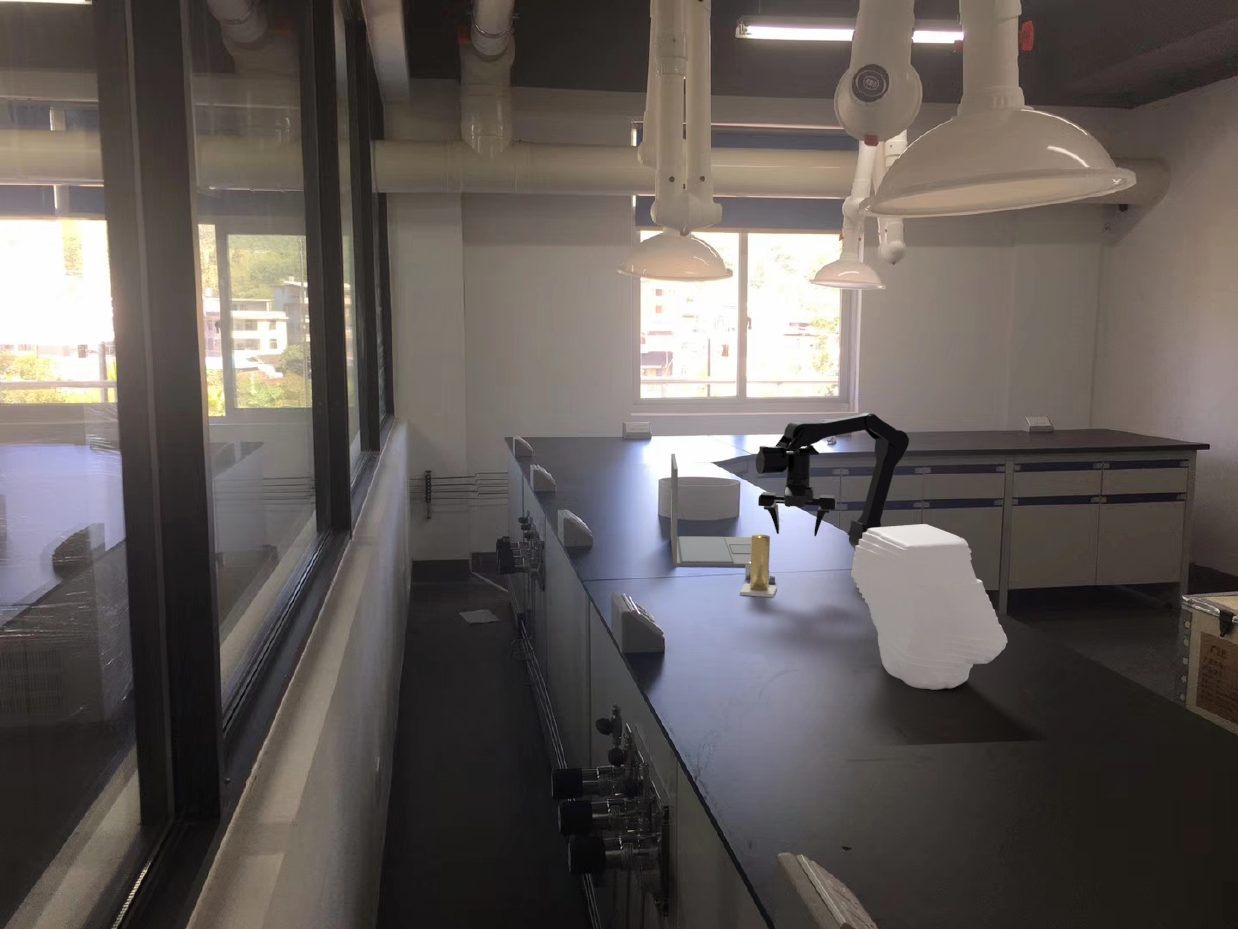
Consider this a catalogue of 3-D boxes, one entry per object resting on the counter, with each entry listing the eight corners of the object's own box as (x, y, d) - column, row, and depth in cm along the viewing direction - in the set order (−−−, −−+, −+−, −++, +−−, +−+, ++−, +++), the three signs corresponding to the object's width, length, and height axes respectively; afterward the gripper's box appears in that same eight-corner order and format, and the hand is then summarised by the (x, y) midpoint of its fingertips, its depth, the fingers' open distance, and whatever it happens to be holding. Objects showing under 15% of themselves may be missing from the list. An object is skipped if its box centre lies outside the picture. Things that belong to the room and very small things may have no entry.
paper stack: (941, 650, 184) (947, 522, 180) (1008, 702, 157) (1017, 554, 154) (837, 653, 182) (841, 524, 179) (887, 706, 155) (893, 556, 152)
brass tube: (766, 586, 229) (768, 534, 227) (769, 591, 224) (771, 538, 223) (749, 586, 229) (750, 534, 227) (751, 590, 224) (752, 538, 223)
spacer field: (777, 578, 239) (777, 563, 239) (772, 588, 230) (772, 572, 229) (746, 576, 242) (746, 561, 241) (739, 585, 232) (740, 570, 232)
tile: (777, 588, 229) (777, 585, 229) (773, 597, 222) (773, 594, 222) (744, 586, 232) (745, 583, 232) (739, 594, 224) (739, 591, 224)
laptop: (768, 568, 252) (770, 469, 248) (672, 567, 253) (673, 469, 249) (754, 541, 286) (756, 454, 283) (670, 540, 287) (670, 453, 284)
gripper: (755, 475, 224) (754, 539, 226) (834, 479, 218) (832, 543, 220) (762, 469, 234) (760, 530, 236) (837, 472, 229) (835, 534, 231)
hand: (796, 534), depth 231 cm, fingers open, 9 cm apart
